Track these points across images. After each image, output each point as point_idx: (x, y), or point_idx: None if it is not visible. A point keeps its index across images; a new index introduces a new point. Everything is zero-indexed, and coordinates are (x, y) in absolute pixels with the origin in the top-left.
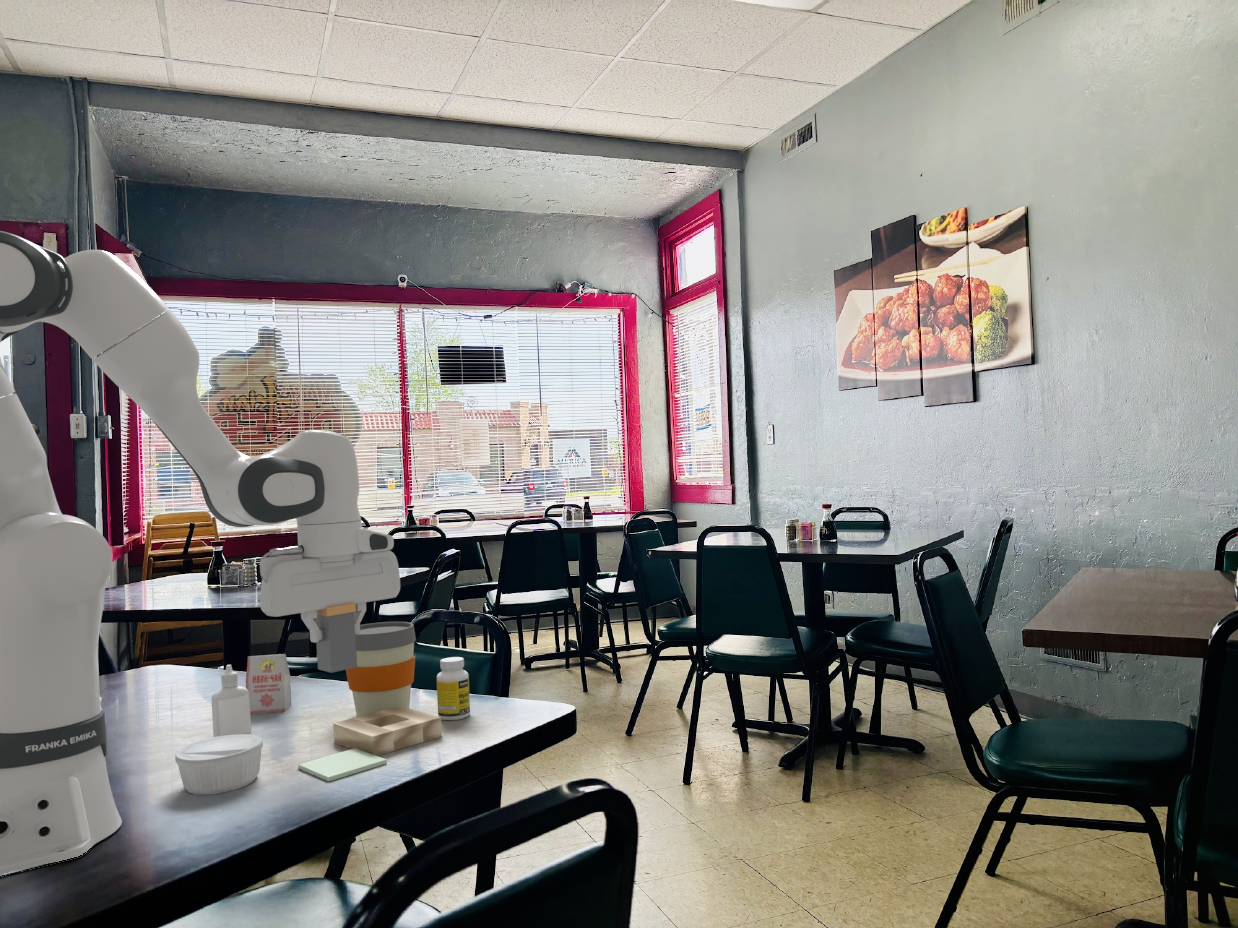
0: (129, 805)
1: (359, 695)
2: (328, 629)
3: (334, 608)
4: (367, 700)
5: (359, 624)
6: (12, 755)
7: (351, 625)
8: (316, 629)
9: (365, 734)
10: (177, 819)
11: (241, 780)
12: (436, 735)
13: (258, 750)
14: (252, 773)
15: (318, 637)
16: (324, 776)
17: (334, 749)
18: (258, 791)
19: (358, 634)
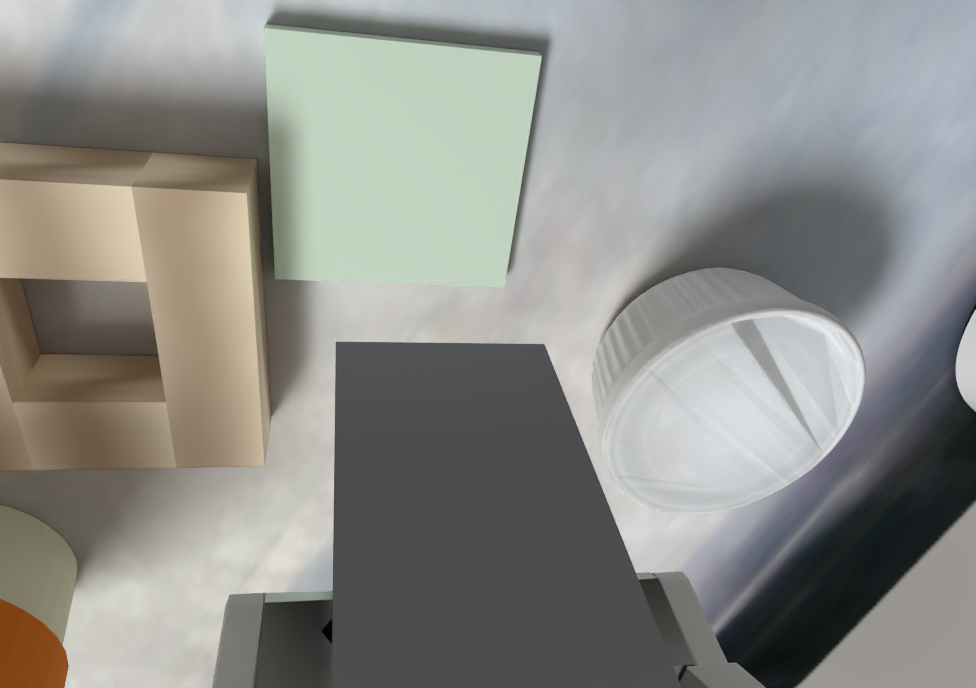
0: (885, 377)
1: (52, 623)
2: (652, 621)
3: None
4: (34, 588)
5: (217, 681)
6: None
7: (377, 633)
8: (723, 668)
9: (251, 249)
10: (951, 173)
11: (715, 270)
12: None
13: (676, 325)
14: (672, 287)
15: (674, 597)
16: (536, 87)
17: (310, 356)
18: (706, 188)
19: (239, 596)
